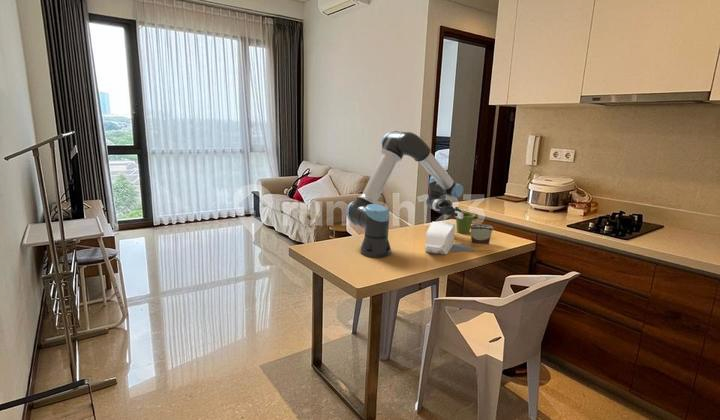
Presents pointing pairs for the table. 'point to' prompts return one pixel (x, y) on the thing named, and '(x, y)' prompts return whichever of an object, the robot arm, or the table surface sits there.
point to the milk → (440, 237)
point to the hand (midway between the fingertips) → (461, 216)
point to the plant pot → (464, 223)
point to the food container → (480, 234)
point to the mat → (460, 248)
